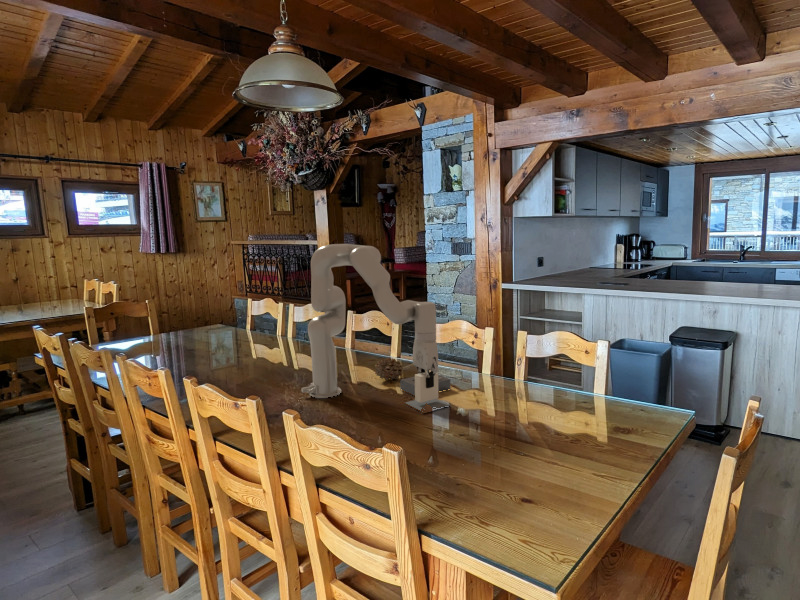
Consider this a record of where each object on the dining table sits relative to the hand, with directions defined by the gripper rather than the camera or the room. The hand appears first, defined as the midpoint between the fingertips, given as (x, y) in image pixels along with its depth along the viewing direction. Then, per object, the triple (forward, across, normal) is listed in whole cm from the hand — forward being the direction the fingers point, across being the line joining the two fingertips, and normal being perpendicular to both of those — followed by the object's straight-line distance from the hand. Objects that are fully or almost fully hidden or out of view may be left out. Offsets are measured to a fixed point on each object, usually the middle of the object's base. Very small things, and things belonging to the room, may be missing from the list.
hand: (426, 385), depth 182 cm
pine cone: (+8, -36, +10) cm, 38 cm away
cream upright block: (+5, 0, 0) cm, 5 cm away
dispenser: (+8, -15, +10) cm, 19 cm away
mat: (+8, 0, 0) cm, 8 cm away
